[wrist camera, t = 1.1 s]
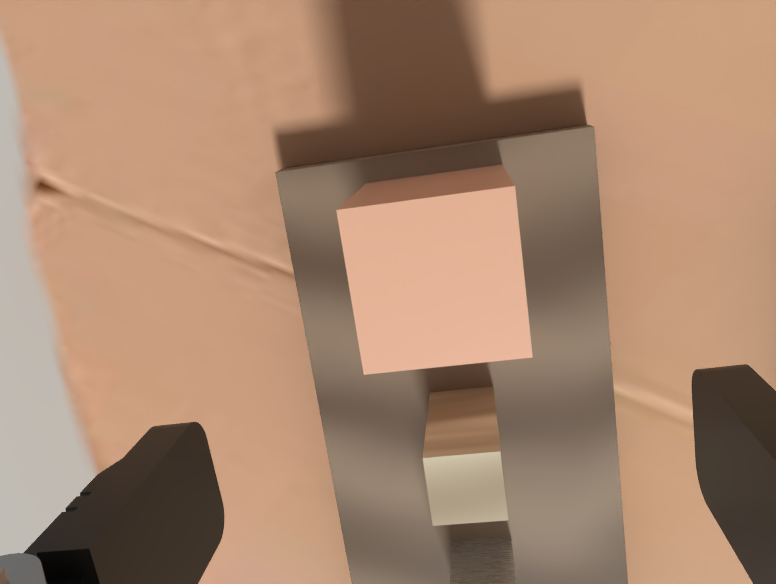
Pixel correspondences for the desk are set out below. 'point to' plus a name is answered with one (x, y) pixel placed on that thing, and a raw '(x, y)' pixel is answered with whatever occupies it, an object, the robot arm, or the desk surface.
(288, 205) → the board
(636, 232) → the desk surface
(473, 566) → the post
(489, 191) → the peach cube
